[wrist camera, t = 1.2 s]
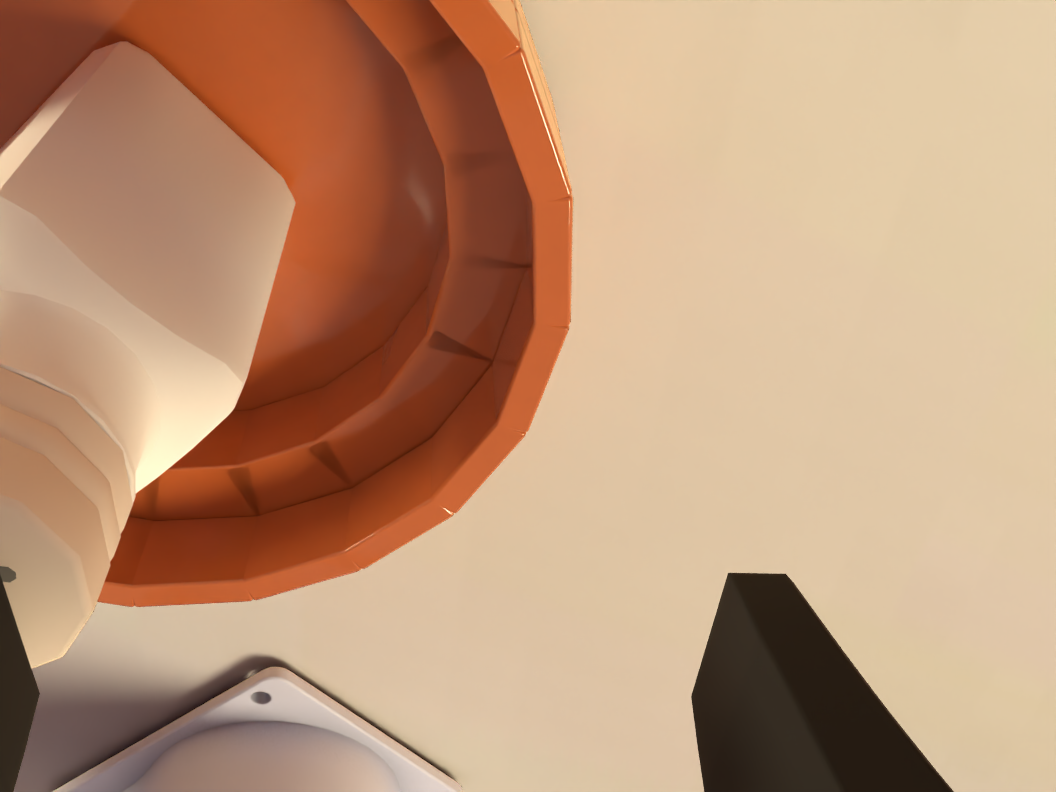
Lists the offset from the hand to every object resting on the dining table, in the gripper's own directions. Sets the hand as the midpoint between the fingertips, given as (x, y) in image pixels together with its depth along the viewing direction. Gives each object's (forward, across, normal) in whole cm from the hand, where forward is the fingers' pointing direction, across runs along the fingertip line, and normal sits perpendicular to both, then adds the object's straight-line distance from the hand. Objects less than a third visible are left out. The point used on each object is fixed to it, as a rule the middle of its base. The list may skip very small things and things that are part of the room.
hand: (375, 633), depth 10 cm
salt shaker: (+10, +4, 0) cm, 11 cm away
